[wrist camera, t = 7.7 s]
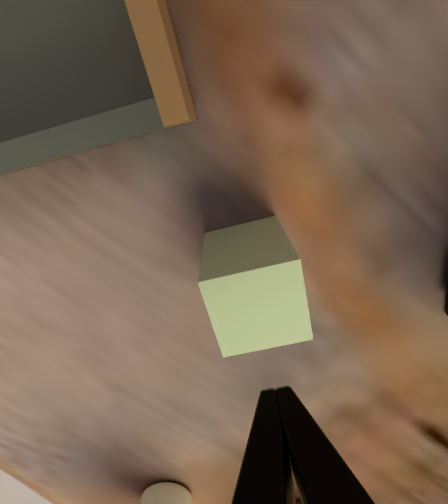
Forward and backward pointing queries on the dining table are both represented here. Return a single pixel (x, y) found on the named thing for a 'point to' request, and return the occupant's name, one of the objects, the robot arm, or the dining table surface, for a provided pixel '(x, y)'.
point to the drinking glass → (166, 494)
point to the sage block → (253, 287)
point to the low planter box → (86, 76)
